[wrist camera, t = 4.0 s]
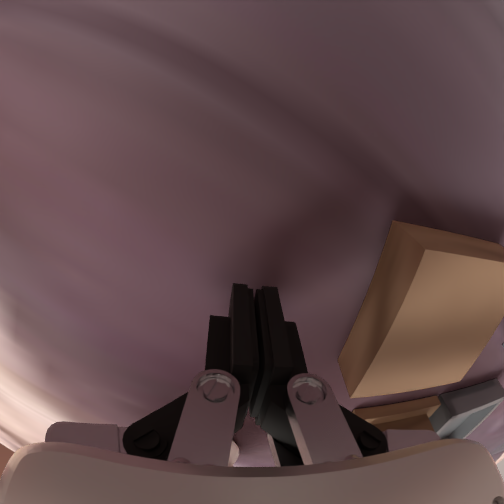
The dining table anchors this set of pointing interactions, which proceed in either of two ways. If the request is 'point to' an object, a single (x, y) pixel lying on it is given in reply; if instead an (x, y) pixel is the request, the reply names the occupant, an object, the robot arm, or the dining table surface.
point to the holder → (401, 414)
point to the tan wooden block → (424, 312)
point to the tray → (466, 409)
